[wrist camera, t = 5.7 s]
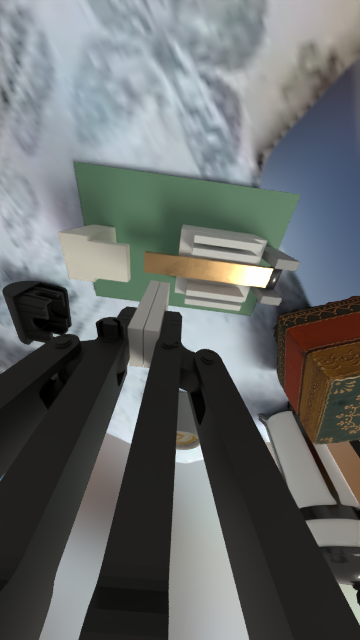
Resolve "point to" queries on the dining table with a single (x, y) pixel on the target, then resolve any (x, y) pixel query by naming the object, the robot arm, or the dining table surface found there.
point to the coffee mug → (186, 425)
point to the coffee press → (319, 494)
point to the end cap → (38, 310)
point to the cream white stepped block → (95, 254)
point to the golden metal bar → (211, 269)
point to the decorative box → (322, 368)
